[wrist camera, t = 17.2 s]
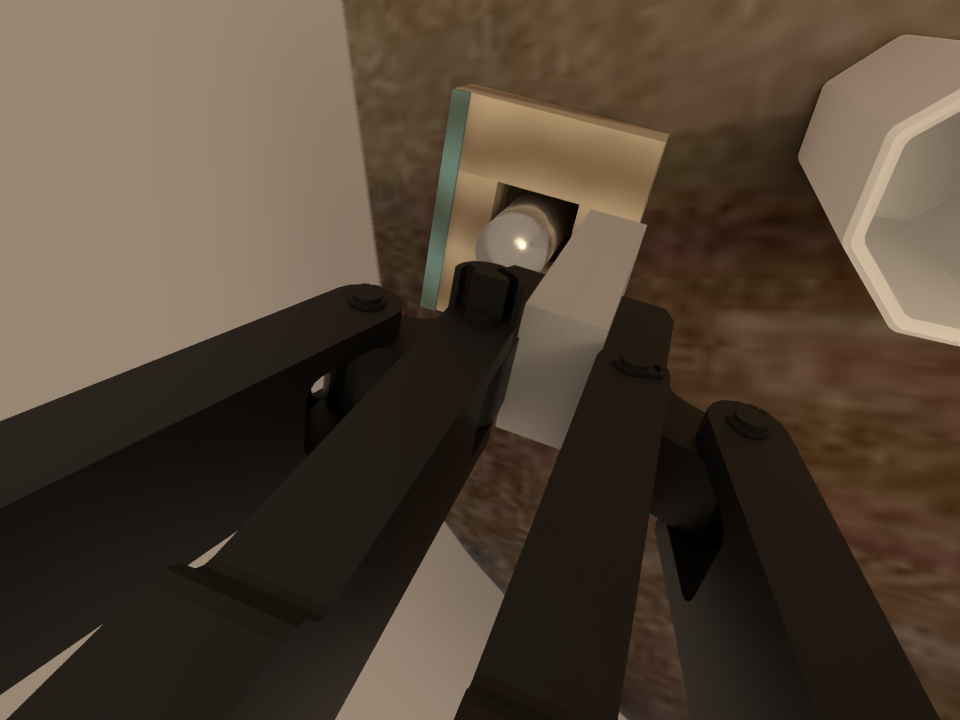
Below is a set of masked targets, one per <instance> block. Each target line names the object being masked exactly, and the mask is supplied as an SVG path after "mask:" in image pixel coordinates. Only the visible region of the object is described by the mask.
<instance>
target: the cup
mask: <svg viewBox="0 0 960 720" xmlns="http://www.w3.org/2000/svg"><path fill="white" fill-rule="evenodd" d="M798 160H799V162H800V164H801V166H802V168H803V170H804V172H805V174H806V176H807V178H808V180H809V182H810V184H811V186H812V188H813V189H814V191H815V193H816V195H817V197H818V199H819V201H820V203H821V205H822V207H823V209H824V211H825V213H826V215H827V217H828V219H829V221H830V223H831V225H832V227H833V229H834V231H835V233H836V235H837V237H838V238H839V240H840V242H841V244H842V246H843V248H844V250H845V252H846V253H847V255H848V257H849V259H850V260H851V262H852V264H853V266H854V267H855V269H856V271H857V273H858V274H859V276H860V278H861V280H862V281H863V283H864V285H865V287H866V288H867V290H868V292H869V293H870V295H871V297H872V299H873V300H874V302H875V304H876V306H877V307H878V309H879V311H880V313H881V314H882V316H883V318H884V320H885V321H886V323H887V325H888V327H889V328H891V329H892V330H893V331H895V332H898V333H902V334H907V335H911V336H915V337H920V338H924V339H929V340H933V341H937V342H942V343H946V344H951V345H955V346H959V347H960V40H953V39H944V38H935V37H926V36H917V35H908V34H905V35H901V36H898V37H897V38H895V39H894V40H892V41H891V42H889V43H887V44H886V45H884V46H883V47H881V48H879V49H878V50H876V51H875V52H873V53H872V54H870V55H868V56H867V57H865V58H864V59H862V60H860V61H859V62H857V63H856V64H854V65H853V66H851V67H849V68H848V69H846V70H845V71H843V72H841V73H840V74H838V75H837V76H835V77H834V78H832V79H830V80H829V81H827V82H826V83H825V85H824V86H823V87H822V90H821V93H820V95H819V98H818V101H817V104H816V106H815V109H814V112H813V115H812V118H811V120H810V123H809V126H808V129H807V132H806V134H805V137H804V140H803V143H802V146H801V148H800V151H799V154H798Z"/></svg>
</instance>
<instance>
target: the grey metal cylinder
mask: <svg viewBox="0 0 960 720" xmlns="http://www.w3.org/2000/svg"><path fill="white" fill-rule="evenodd" d="M569 227H570V215H569V211H568V209H567V206H566V205H565V203H564V202H563V200H562V199H558V198H554V197H551V196H547V195H544V194H540V193H537V192H533V191H530V190H529V191H527V192H525V193H523V194H521V195H520V196H519V197H518V198H517V199H516V200H514V201H513V202H512V203H511V204H510V205H509V206H508V207H507V208H505V209H504V210H503V211H502V212H501V213H500V214H499V215H498V216H496V217H495V218H494V219H493V220H492V221H491V222H490V223H488V224H487V225H486V226H485V227H484V228H483V229H482V231H481V232H480V234H479V236H478V238H477V241H476V246H475V254H476V259H477V261H484V262H491V263H495V264H500V265H503V266H505V267H509V266H512V265H517V266H520V267H523V268H527V269H530V270H533V271H537V272H541V271H542V269H543V268H544V266H545V265H546V264H547V262H548V261H549V259H550V258H551V257H552V255H553V254H554V252H555V251H556V250H557V248H558V247H559V245H560V244H561V243H562V241H563V240H564V238H565V237H566V235H567V233H568V231H569Z"/></svg>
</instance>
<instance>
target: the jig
mask: <svg viewBox="0 0 960 720" xmlns="http://www.w3.org/2000/svg"><path fill="white" fill-rule="evenodd" d="M669 135H670V133H666V132H662V131H658V130H654V129H650V128H646V127H642V126H638V125H634V124H630V123H626V122H622V121H618V120H614V119H610V118H606V117H602V116H598V115H594V114H590V113H587V112H583V111H579V110H575V109H571V108H567V107H563V106H559V105H555V104H551V103H547V102H543V101H539V100H535V99H531V98H527V97H523V96H519V95H515V94H511V93H507V92H503V91H499V90H496V89H492V88H488V87H484V86H480V85H476V84H468V85H464V86H461V87H457V88H453V89H452V95H451V102H450V109H449V115H448V122H447V129H446V135H445V142H444V149H443V156H442V162H441V169H440V176H439V182H438V189H437V196H436V202H435V209H434V216H433V223H432V229H431V236H430V243H429V249H428V256H427V263H426V270H425V276H424V283H423V290H422V296H421V303H420V306H421V307H424V308H427V309H430V310H433V311H435V310H439V311H442V312H444V311H445V310H446V309H447V307H448V305H449V299H450V293H451V288H452V282H453V276H454V271H455V266H456V265H458V264H460V263H462V262H469V261H477V259H476V254H475V246H476V241H477V238H478V236H479V234H480V232H481V231H482V229H483V228H484V227H485V226H486V225H487V224H488V223H490V222H491V221H492V220H493V219H494V218H495V217H496V216H498V215H499V214H500V213H501V212H502V211H503V210H504V208H505V203H506V198H507V193H508V188H509V185H512V186H515V187H519V188H522V189H526V190H530V191H533V192H537V193H540V194H544V195H547V196H551V197H554V198H558V199H562V200H565V201H569V202H572V203H576V204H579V209H578V213H577V216H576V220H575V224H574V227H573V231H572V235H571V237H572V236H573V234H574V233H575V231H576V230H577V228H578V227H579V225H580V224H581V223H582V221H583V220H584V218H585V217H586V215H587V214H588V212H589V211H590V209H592V210H596V211H599V212H603V213H606V214H610V215H614V216H617V217H621V218H624V219H628V220H631V221H635V222H638V223H641V220H642V217H643V214H644V211H645V208H646V205H647V202H648V199H649V196H650V193H651V190H652V187H653V184H654V181H655V177H656V174H657V171H658V168H659V165H660V162H661V159H662V156H663V153H664V150H665V147H666V144H667V141H668V138H669ZM570 239H571V238H570ZM553 263H554V262H550V261H548V262H547V264H546V265H545V266H544V268H543V269H542V271H541V272H540V273H543V274H546V273H547V272H548V270H549V269H550V268H551V266H552V265H553Z"/></svg>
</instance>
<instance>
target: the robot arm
mask: <svg viewBox="0 0 960 720" xmlns="http://www.w3.org/2000/svg"><path fill="white" fill-rule="evenodd" d="M646 227H647V225H646V224H642V223H638V222H635V221H631V220H628V219H624V218H621V217H617V216H614V215H610V214H606V213H603V212H599V211H596V210H592V209H590V211H589V212H588V214H587V215H586V217H585V218H584V220H583V221H582V223H581V224H580V225H579V227H578V228H577V230H576V231H575V233H574V234H573V236H572V237H571V239H570V240H569V241H568V243H567V244H566V246H565V247H564V249H563V250H562V252H561V253H560V254H559V256H558V257H557V259H556V260H555V262H554V263H553V265H552V266H551V268H550V269H549V270H548V272H547V273H546V274H543V273H540V272H537V271H533V270H530V269H527V268H523V267H520V266H517V265H512V266H509V267H505V266H503V265H500V264H495V263H491V262H484V261H469V262H462V263H460V264H458V265H456V266H455V271H454V276H453V282H452V288H451V293H450V299H449V305H448V307H447V309H446V310H445V311H444V312H443V313H442V314H441V315H440V316H439V317H438V318H437V319H421V318H414V317H408V316H401V315H402V308H403V302H402V300H401V299H400V297H399V296H397V295H396V294H394V293H393V292H391V291H390V290H387V289H384V288H381V287H380V286H377V285H371V284H365V283H364V284H358V285H356V284H355V285H347V286H343V287H339V288H336V289H334V290H331V291H329V292H326V293H324V294H321V295H319V296H316V297H314V298H311V299H308V300H306V301H304V302H301V303H298V304H296V305H293V306H291V307H288V308H286V309H283V310H281V311H278V312H276V313H273V314H271V315H268V316H266V317H263V318H260V319H258V320H256V321H253V322H250V323H248V324H245V325H243V326H240V327H238V328H235V329H233V330H230V331H228V332H225V333H222V334H220V335H218V336H215V337H212V338H210V339H207V340H205V341H203V342H200V343H197V344H195V345H192V346H190V347H188V348H185V349H182V350H179V351H177V352H175V353H172V354H169V355H167V356H164V357H162V358H159V359H157V360H154V361H152V362H149V363H147V364H144V365H142V366H139V367H136V368H134V369H131V370H129V371H126V372H124V373H122V374H119V375H116V376H114V377H111V378H109V379H106V380H104V381H101V382H98V383H96V384H93V385H91V386H88V387H86V388H83V389H81V390H78V391H76V392H74V393H71V394H68V395H66V396H63V397H61V398H58V399H55V400H53V401H50V402H48V403H45V404H43V405H40V406H38V407H35V408H33V409H30V410H28V411H25V412H23V413H20V414H18V415H15V416H12V417H10V418H7V419H5V420H2V421H0V695H1V694H2V693H4V692H5V691H7V690H8V689H9V688H11V687H12V686H14V685H15V684H17V683H18V682H20V681H21V680H23V679H24V678H25V677H27V676H28V675H30V674H31V673H33V672H34V671H36V670H37V669H38V668H40V667H41V666H43V665H44V664H46V663H47V662H49V661H50V660H51V659H53V658H54V657H56V656H57V655H59V654H60V653H62V652H63V651H64V650H66V649H67V648H69V647H70V646H72V645H73V644H74V643H76V642H77V641H79V640H80V639H82V638H83V637H85V636H86V635H88V634H89V633H90V632H92V631H93V630H95V629H96V628H97V627H99V626H100V625H102V624H103V623H104V624H103V625H102V626H101V627H100V628H99V629H98V630H97V631H96V632H95V633H94V634H93V635H92V636H91V637H90V638H89V639H88V640H87V641H86V642H85V643H84V644H83V645H82V646H81V647H80V648H79V649H78V650H77V651H76V652H75V653H74V654H73V655H71V656H70V658H69V659H67V660H66V662H64V663H63V665H61V666H60V667H59V668H58V669H57V670H56V671H55V672H54V673H53V674H52V675H51V676H50V677H49V678H48V679H47V680H46V681H45V682H44V683H43V684H42V685H41V686H40V687H39V688H38V689H37V690H36V691H35V692H34V693H33V694H32V695H31V696H30V697H29V698H28V699H27V700H26V701H25V702H24V703H23V704H22V705H21V706H20V707H19V708H18V709H17V710H16V711H15V712H14V713H13V714H12V715H11V716H10V717H9V718H8V719H7V720H335V718H336V717H337V715H338V713H339V711H340V709H341V707H342V705H343V704H344V702H345V700H346V698H347V697H348V695H349V693H350V691H351V689H352V687H353V686H354V684H355V682H356V680H357V678H358V677H359V675H360V673H361V671H362V669H363V667H364V666H365V664H366V662H367V660H368V658H369V657H370V655H371V653H372V651H373V649H374V647H375V645H376V644H377V642H378V640H379V638H380V636H381V634H382V633H383V631H384V629H385V627H386V626H387V624H388V622H389V620H390V618H391V617H392V615H393V613H394V611H395V609H396V607H397V606H398V604H399V602H400V600H401V598H402V596H403V595H404V593H405V591H406V589H407V587H408V586H409V584H410V582H411V580H412V578H413V576H414V575H415V573H416V571H417V569H418V567H419V565H420V564H421V562H422V560H423V558H424V556H425V555H426V553H427V551H428V549H429V547H430V545H431V544H432V542H433V540H434V538H435V536H436V534H437V533H438V531H439V529H440V527H441V525H442V524H443V522H444V520H445V518H446V516H447V515H448V513H449V511H450V509H451V507H452V506H453V504H454V502H455V500H456V498H457V496H458V495H459V493H460V491H461V489H462V487H463V485H464V484H465V482H466V480H467V478H468V476H469V475H470V473H471V471H472V469H473V467H474V465H475V464H476V462H477V460H478V458H479V456H480V455H481V453H482V451H483V449H484V447H485V445H486V444H487V442H488V439H489V435H490V431H491V427H492V423H493V419H494V418H495V416H496V414H497V412H498V411H499V414H498V418H497V422H496V427H498V428H501V429H504V430H507V431H510V432H512V433H515V434H518V435H521V436H524V437H526V438H529V439H532V440H535V441H538V442H540V443H543V444H546V445H549V446H552V447H554V448H557V449H560V452H559V455H558V458H557V460H556V463H555V465H554V468H553V471H552V473H551V476H550V479H549V481H548V484H547V486H546V489H545V492H544V494H543V497H542V499H541V502H540V505H539V507H538V510H537V513H536V515H535V518H534V520H533V523H532V526H531V528H530V531H529V533H528V536H527V539H526V541H525V544H524V547H523V549H522V552H521V554H520V557H519V560H518V562H517V565H516V567H515V570H514V573H513V575H512V578H511V581H510V583H509V586H508V588H507V591H506V594H505V596H504V599H503V602H502V604H501V607H500V609H499V612H498V615H497V617H496V620H495V622H494V625H493V628H492V630H491V633H490V636H489V638H488V641H487V643H486V646H485V649H484V651H483V654H482V656H481V659H480V662H479V664H478V667H477V669H476V672H475V675H474V677H473V680H472V682H471V685H470V687H469V688H467V689H466V692H465V694H464V696H463V698H462V701H461V703H460V706H459V708H458V711H457V713H456V716H455V718H454V720H618V715H619V708H620V702H621V695H622V689H623V682H624V676H625V669H626V663H627V656H628V650H629V644H630V637H631V631H632V624H633V618H634V611H635V605H636V598H637V592H638V585H639V579H640V572H641V566H642V559H643V553H644V546H645V540H646V534H647V527H648V521H649V514H650V513H651V514H652V515H654V516H655V517H657V518H658V519H657V521H656V528H655V533H656V538H657V544H658V549H659V554H660V559H661V564H662V569H663V574H664V580H665V585H666V590H667V595H668V600H669V605H670V611H671V616H672V621H673V626H674V631H675V636H676V642H677V647H678V652H679V657H680V662H681V667H682V672H683V678H684V683H685V688H686V693H687V698H688V703H689V709H690V714H691V719H692V720H940V719H939V717H938V715H937V713H936V711H935V709H934V707H933V705H932V704H931V702H930V700H929V698H928V696H927V694H926V692H925V690H924V688H923V687H922V685H921V683H920V681H919V679H918V677H917V675H916V673H915V671H914V669H913V668H912V666H911V664H910V662H909V660H908V658H907V656H906V654H905V652H904V651H903V649H902V647H901V645H900V643H899V641H898V639H897V637H896V635H895V634H894V632H893V630H892V628H891V626H890V624H889V622H888V620H887V618H886V616H885V615H884V613H883V611H882V609H881V607H880V605H879V603H878V601H877V599H876V598H875V596H874V594H873V592H872V590H871V588H870V586H869V584H868V582H867V581H866V579H865V577H864V575H863V573H862V571H861V569H860V567H859V565H858V564H857V562H856V560H855V558H854V556H853V554H852V552H851V550H850V548H849V546H848V545H847V543H846V541H845V539H844V537H843V535H842V533H841V531H840V529H839V528H838V526H837V524H836V522H835V520H834V518H833V516H832V514H831V512H830V511H829V509H828V507H827V505H826V503H825V501H824V499H823V497H822V495H821V493H820V492H819V490H818V488H817V486H816V484H815V482H814V480H813V478H812V476H811V475H810V473H809V471H808V469H807V467H806V465H805V463H804V461H803V459H802V458H801V456H800V454H799V452H798V450H797V448H796V446H795V444H794V442H793V440H792V439H791V437H790V435H789V433H788V432H787V430H786V429H785V428H784V427H783V425H782V424H781V423H780V422H779V421H777V420H776V419H775V418H773V417H772V416H771V415H769V413H768V412H766V411H764V410H762V409H761V408H760V409H758V408H759V407H756V406H754V405H751V404H745V403H742V402H738V401H729V400H722V401H717V402H713V403H712V404H711V405H710V406H709V407H708V409H707V411H706V413H705V412H703V411H701V410H699V409H697V408H696V407H694V406H692V405H690V404H689V403H687V402H685V401H684V400H682V399H681V398H680V397H679V396H677V395H676V394H675V393H674V392H673V391H672V390H671V389H670V387H669V385H670V374H669V370H668V369H667V368H666V366H667V360H668V354H669V348H670V341H671V336H672V330H673V324H674V321H673V319H672V318H671V316H670V314H669V313H668V311H667V310H666V309H664V308H661V307H657V306H654V305H651V304H648V303H644V302H641V301H638V300H634V299H631V298H628V297H625V296H624V293H625V290H626V287H627V284H628V281H629V278H630V275H631V272H632V269H633V266H634V263H635V260H636V257H637V254H638V251H639V248H640V245H641V242H642V239H643V236H644V233H645V230H646ZM322 376H324V384H323V388H322V389H320V390H318V391H317V392H315V393H312V392H311V388H312V386H313V385H314V383H315V382H316V381H317V380H319V379H320V378H321V377H322ZM499 409H500V410H499ZM236 531H237V532H236ZM235 532H236V533H235ZM233 533H235V534H234V536H233V537H232V538H231V539H230V540H229V541H228V542H227V543H226V544H225V545H224V546H223V547H222V548H221V549H220V550H219V551H218V553H217V554H216V555H215V556H214V557H213V558H212V559H210V560H209V561H208V562H207V563H206V564H205V565H203V566H200V567H198V568H193V567H190V566H187V565H189V564H190V563H191V562H193V561H194V560H196V559H197V558H199V557H200V556H201V555H203V554H205V553H206V552H207V551H209V550H210V549H212V548H213V547H215V546H216V545H218V544H219V543H220V542H222V541H223V540H225V539H226V538H228V537H229V536H231V535H232V534H233Z"/></svg>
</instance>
